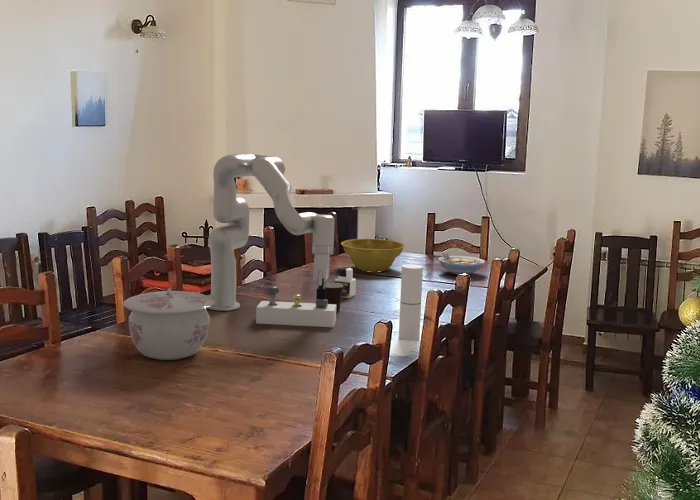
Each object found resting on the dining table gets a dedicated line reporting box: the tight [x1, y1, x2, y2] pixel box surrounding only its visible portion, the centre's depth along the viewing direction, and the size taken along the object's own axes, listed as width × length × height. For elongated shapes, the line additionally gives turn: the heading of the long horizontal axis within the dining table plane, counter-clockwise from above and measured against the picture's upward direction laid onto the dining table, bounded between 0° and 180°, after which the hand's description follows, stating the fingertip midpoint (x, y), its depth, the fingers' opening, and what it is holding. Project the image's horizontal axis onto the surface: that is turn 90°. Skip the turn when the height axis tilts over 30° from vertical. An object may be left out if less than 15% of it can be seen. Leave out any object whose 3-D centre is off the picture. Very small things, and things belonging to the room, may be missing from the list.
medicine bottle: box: [333, 266, 357, 299], centre depth 321 cm, size 7×7×12 cm
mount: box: [255, 300, 337, 328], centre depth 277 cm, size 28×10×6 cm, turn 86°
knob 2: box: [315, 299, 328, 308], centre depth 276 cm, size 4×4×8 cm
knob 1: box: [266, 285, 280, 306], centre depth 277 cm, size 4×4×8 cm
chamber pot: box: [122, 288, 215, 361], centre depth 234 cm, size 28×28×21 cm
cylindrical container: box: [398, 263, 424, 341], centre depth 260 cm, size 7×7×25 cm
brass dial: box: [292, 293, 302, 307], centre depth 276 cm, size 3×3×5 cm
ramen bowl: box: [438, 253, 486, 275], centre depth 376 cm, size 25×23×8 cm
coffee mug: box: [325, 282, 343, 313], centre depth 297 cm, size 12×9×10 cm
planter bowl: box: [340, 238, 406, 273], centre depth 379 cm, size 32×32×13 cm
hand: (321, 298), depth 276 cm, fingers closed
